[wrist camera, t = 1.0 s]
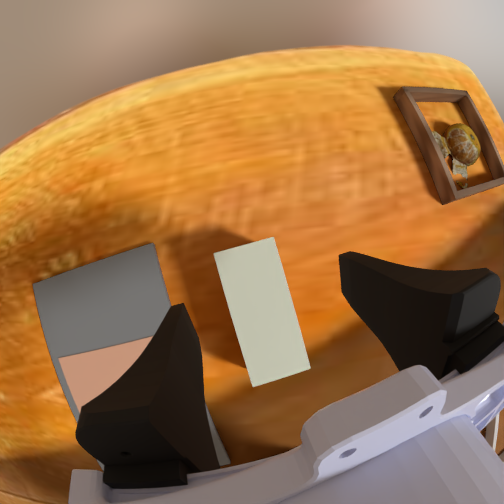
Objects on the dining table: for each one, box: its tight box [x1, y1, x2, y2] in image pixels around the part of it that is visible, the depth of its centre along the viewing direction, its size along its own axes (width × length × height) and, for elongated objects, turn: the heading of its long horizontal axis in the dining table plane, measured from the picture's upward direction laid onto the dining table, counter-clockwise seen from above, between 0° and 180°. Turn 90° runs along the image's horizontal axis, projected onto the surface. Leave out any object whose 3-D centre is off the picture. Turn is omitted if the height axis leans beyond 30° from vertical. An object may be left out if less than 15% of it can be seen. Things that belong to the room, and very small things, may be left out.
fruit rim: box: [393, 87, 504, 205], centre depth 28 cm, size 15×15×2 cm
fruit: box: [432, 123, 481, 189], centre depth 28 cm, size 8×8×4 cm
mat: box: [33, 243, 230, 471], centre depth 23 cm, size 22×14×1 cm, turn 17°
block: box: [214, 237, 310, 387], centre depth 23 cm, size 10×4×5 cm, turn 16°
